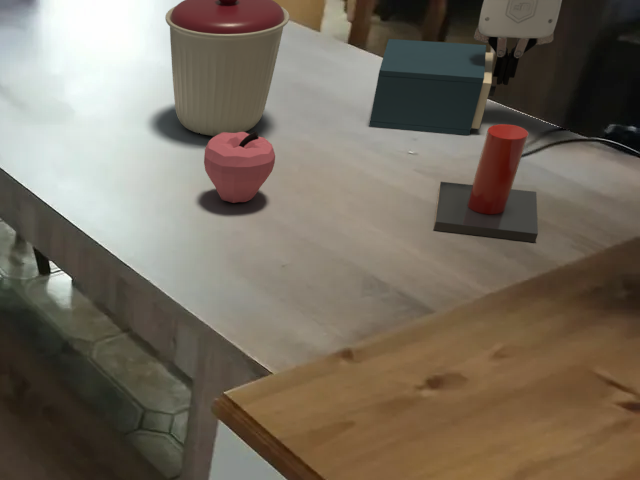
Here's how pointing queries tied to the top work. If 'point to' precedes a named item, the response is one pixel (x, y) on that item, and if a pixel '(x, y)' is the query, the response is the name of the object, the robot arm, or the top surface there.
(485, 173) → the red cylinder
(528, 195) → the board
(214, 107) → the canister
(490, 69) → the drawer
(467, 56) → the cabinet
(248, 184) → the apple
